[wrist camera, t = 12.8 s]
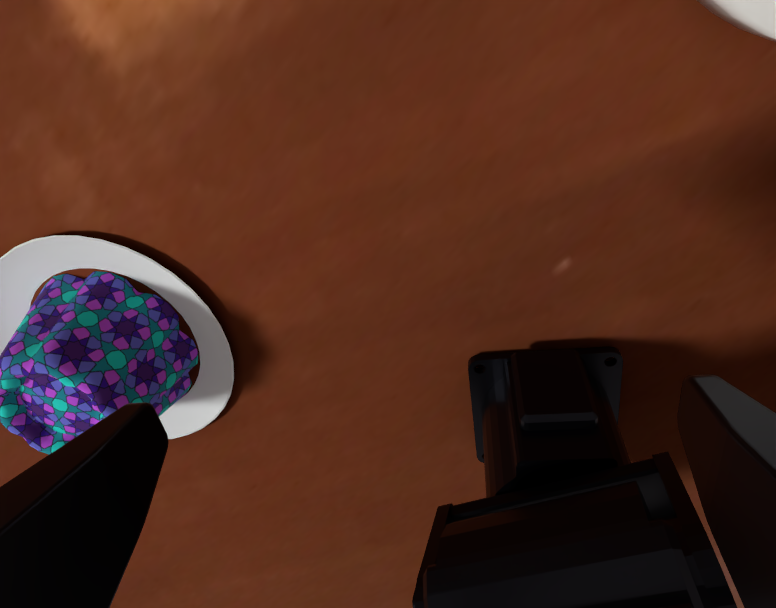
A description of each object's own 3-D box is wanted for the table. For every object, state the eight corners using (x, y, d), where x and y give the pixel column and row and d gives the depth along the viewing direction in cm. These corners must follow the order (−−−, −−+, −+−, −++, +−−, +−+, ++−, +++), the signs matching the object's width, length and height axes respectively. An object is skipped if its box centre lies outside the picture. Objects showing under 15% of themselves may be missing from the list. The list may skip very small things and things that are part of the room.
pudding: (-6, 183, 23) (-116, 237, 18) (267, 291, 24) (226, 365, 20) (-6, 381, 29) (-88, 457, 25) (211, 457, 31) (170, 542, 26)
